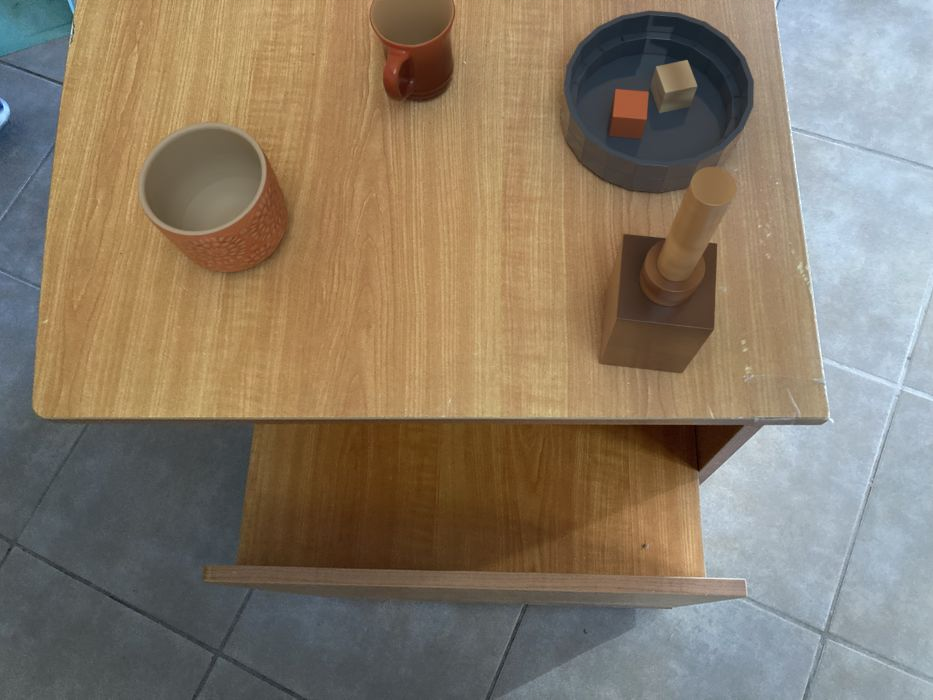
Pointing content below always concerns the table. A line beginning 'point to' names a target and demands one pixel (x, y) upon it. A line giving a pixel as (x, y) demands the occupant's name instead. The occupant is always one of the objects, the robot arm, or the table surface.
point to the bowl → (665, 134)
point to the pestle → (687, 239)
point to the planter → (214, 196)
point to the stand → (654, 314)
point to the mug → (415, 46)
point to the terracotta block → (628, 113)
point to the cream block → (673, 86)
